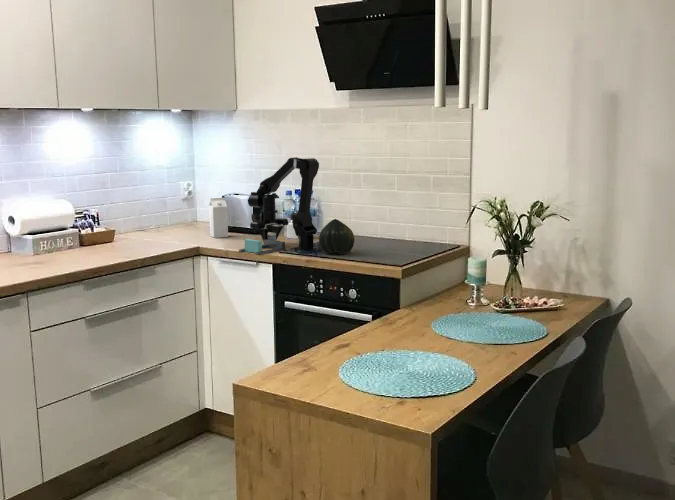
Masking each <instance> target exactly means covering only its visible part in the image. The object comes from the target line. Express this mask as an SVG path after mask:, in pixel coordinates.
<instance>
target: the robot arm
mask: <svg viewBox="0 0 675 500" xmlns="http://www.w3.org/2000/svg"><path fill="white" fill-rule="evenodd" d="M295 169H297V170H299V171H298V172H299V175H300V178H301V184H300V185H301V186H300V193H299V202H298V203H299V204H298V211H296V213H297V214H293V221H292V223H293V228H294V230H295V233H296V236H299V239H298V247H296V249H297V250H301V251H310V250H317V247H315V246H314V245H315V244H314V235H317V232H318V229H317V227H315V225H314V223H313V217H312V215H311V203H312V196H313V195H312V194H313V187H314V186H313V185H314V179H315V178H316V176H317V175H318V172H319V169H320V162H319V161H318V159H316V158H313V157H311V158H310V157H309V158H299V157H297V156H296V157H289V158H288V159H287V160H286V162H285V163H283V165H282V166H281V167H280V168H278V170H276V171H275V172H274V173H273V174H272V175H271V176H270V177H267V178H265V179H263V180H262V181H261V182H260V183H259V187H258V189H257V190H256V191H251V192H250V195H249V196H248V199H247V204H248V206H249V207H250V208H262V209H261V210H260V213H259V214H257V212H256V213H252V214H251V221H250V224H249V227H250V229H254V230H256V231H258V232H259V234H260V236H261V239H262V243H264V240H265V239H267V235H268V232H269V228H267V227H268V226H270V227H271V229H272V232H273V233H276V241H278V237H279V235H280V234H281V232H282V230H283V229H284V228H285V227H284V226H287V225H288V223H289V220H288V219H287V218H284V217H277V218H276V216H277V215H276V213H278V210H277V209H276V199H280V196H279V195H278V194H277V190H278V189H279V188H280V186H281V184H282V181H284V180H285V179H286V177H288V176H289V175H290V174H291V173H292V172H293V171H294V170H295Z"/></svg>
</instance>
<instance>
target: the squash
mask: <svg viewBox="0 0 675 500" xmlns="http://www.w3.org/2000/svg"><path fill="white" fill-rule="evenodd" d="M318 244H319V246H320V249H321V250H322V251H323V253H325V254H327V253H328V254H334V253H338V254H340V255H344V254H346V253H350V251H352V249H353V248H354V245H355V234H354V231H352V229H351V228H350V227H349V226H347V225H346V224H345V223H343V222H342V221H340V220H339V219H337V218H335V219H332V220H330V221H329V222H328V223H326V225H324V227H323V228H322V229H321V231H320V234H319V236H318Z"/></svg>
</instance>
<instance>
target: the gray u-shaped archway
mask: <svg viewBox="0 0 675 500" xmlns="http://www.w3.org/2000/svg"><path fill="white" fill-rule="evenodd" d="M265 248H266V249H267V250H262V251H259V252H256V253H255V255H257V256H258V255H259V256H260V255H264V254H269V253H275V252H280V251H285V250H286V241H280V240H276V241H275V240H268V239H265V240H264V242H263V244H262V249H265ZM238 252H239V253H242V252H243V253H245V252H246V251H245V248H238Z"/></svg>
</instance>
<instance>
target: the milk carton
mask: <svg viewBox="0 0 675 500" xmlns="http://www.w3.org/2000/svg"><path fill="white" fill-rule="evenodd" d="M209 201H210V202H209V205H208V214H209V215H208V216H209V236H210V237H212V238H214V239H217V238H218V239H219V238H228V237H229V225H228V222H229V221H228V219H229V218H228V205H227V202H226V198H225V197H214V198H212V197H211V198H210V200H209Z"/></svg>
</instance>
